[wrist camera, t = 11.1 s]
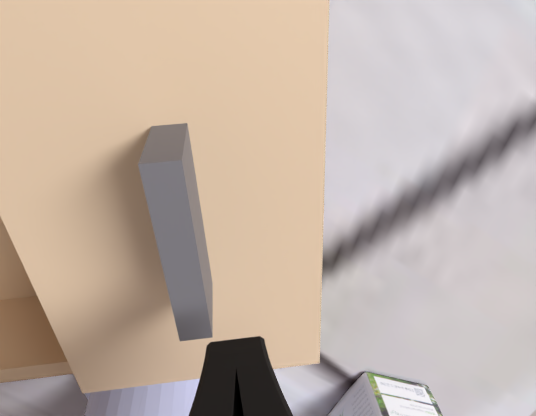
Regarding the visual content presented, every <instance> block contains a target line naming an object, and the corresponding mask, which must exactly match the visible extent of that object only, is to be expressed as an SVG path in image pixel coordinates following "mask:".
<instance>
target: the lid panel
mask: <svg viewBox="0 0 536 416" xmlns="http://www.w3.org/2000/svg"><path fill="white" fill-rule="evenodd" d="M328 29H329V0H0V216H1V219H2V221H3V223H4V225H5V227H6V229H7V232H8V234H9V236H10V238H11V240H12V242H13V244H14V247H15V249H16V251H17V253H18V255H19V257H20V260H21V262H22V264H23V266H24V268H25V270H26V273H27V275H28V277H29V279H30V281H31V283H32V285H33V288H34V290H35V292H36V294H37V296H38V298H39V301H40V303H41V305H42V307H43V309H44V311H45V314H46V316H47V318H48V320H49V322H50V324H51V326H52V329H53V331H54V333H55V335H56V337H57V339H58V342H59V344H60V346H61V348H62V350H63V352H64V355H65V357H66V359H67V361H68V363H69V365H70V367H71V370H72V372H73V374H74V376H75V378H76V380H77V383H78V385H79V387H80V389H81V391H82V393H83V394H84V393H91V392H99V391H107V390H115V389H122V388H130V387H138V386H146V385H154V384H161V383H169V382H177V381H185V380H192V379H200V376H201V372H202V368H203V364H204V359H205V353H206V347H207V345H208V344H209V343H210V342H215V341H223V340H231V339H240V338H248V337H256V336H260V337H262V338H264V340H265V345H266V349H267V353H268V356H269V359H270V362H271V365H272V368H273V369H278V368H285V367H293V366H301V365H309V364H316V363H320V327H321V290H322V253H323V215H324V178H325V141H326V104H327V67H328Z"/></svg>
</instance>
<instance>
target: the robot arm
mask: <svg viewBox="0 0 536 416" xmlns="http://www.w3.org/2000/svg"><path fill="white" fill-rule="evenodd" d="M85 395H86V397H87V400H88V404H87V407H86V411H85V414H84V416H293V415H292V413H291V410H290V408H289V406H288V404H287V402H286V400H285V398H284V395H283V393H282V391H281V389H280V386H279V384H278V381H277V379H276V376H275V374H274V371H273V368H272V365H271V362H270V359H269V356H268V353H267V349H266V345H265V340H264V338H262V337H260V336H256V337H248V338H240V339H231V340H223V341H215V342H210V343H209V344H208V345H207V347H206V353H205V359H204V364H203V368H202V372H201V376H200V379H192V380H185V381H177V382H169V383H161V384H154V385H146V386H138V387H130V388H122V389H115V390H107V391H99V392H91V393H85Z"/></svg>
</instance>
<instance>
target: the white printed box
mask: <svg viewBox="0 0 536 416" xmlns="http://www.w3.org/2000/svg"><path fill="white" fill-rule="evenodd" d="M327 416H443V415H442V413H441V411H440V409H439V407H438V405H437V403H436V401H435V399H434V397H433V395H432V393H431V391H430V389H429V387H428V386H427V385H422V384H418V383H413V382H409V381H404V380H400V379H396V378H391V377H387V376H382V375H378V374H374V373H369V372H365V373H363V374H362V375H361V376H360V378H358V380H357V381H356V382H355V383H354V384H353V385H352V386H351V387H350V389H349V390H348V391H347V392H346V393H345V394H344V396H343V397H342V398H341V399H340V401H339V402H338V403H337V404H336V406H335V407H334V408H333V409H332V410H331V412H330V413H329V414H328V415H327Z"/></svg>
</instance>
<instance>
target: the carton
mask: <svg viewBox="0 0 536 416" xmlns="http://www.w3.org/2000/svg"><path fill="white" fill-rule="evenodd" d="M67 374H73V372H72V370H71V367H70V365H69V363H68V361H67V359H66V357H65V355H64V352H63V350H62V348H61V346H60V344H59V342H58V339H57V337H56V335H55V333H54V331H53V329H52V326H51V324H50V322H49V320H48V318H47V316H46V314H45V311H44V309H43V307H42V305H41V303H40V301H39V298H38V296H37V294H36V292H35V290H34V288H33V285H32V283H31V281H30V279H29V277H28V275H27V273H26V270H25V268H24V266H23V264H22V262H21V260H20V257H19V255H18V253H17V251H16V249H15V247H14V244H13V242H12V240H11V238H10V236H9V234H8V232H7V229H6V227H5V225H4V223H3V221H2V219H1V216H0V383H3V382H11V381H19V380H27V379H35V378H43V377H51V376H59V375H67Z"/></svg>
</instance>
